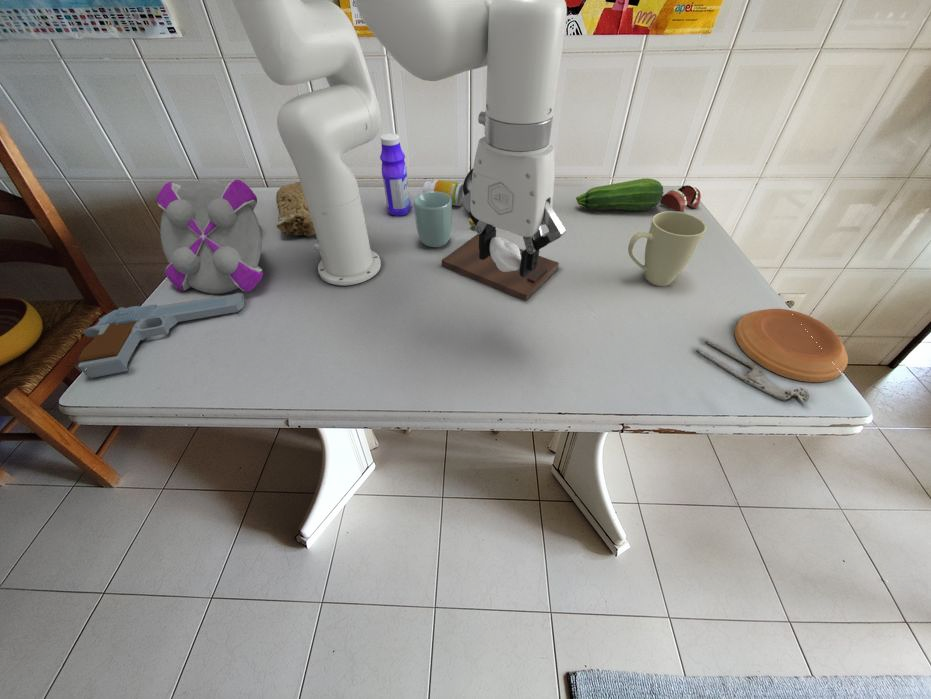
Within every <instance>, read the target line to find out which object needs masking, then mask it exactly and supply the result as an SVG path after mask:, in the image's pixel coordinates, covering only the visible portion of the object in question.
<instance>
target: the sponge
mask: <svg viewBox="0 0 931 699" xmlns="http://www.w3.org/2000/svg"><path fill="white" fill-rule="evenodd" d="M275 200H276V207H277V209H278V212H279V216H278V217H277V222H276V228H277V229H279V231H280V232H284V234H285V235H287V236H288V235H291V236H302V235H304V236H306V237H313V236H314V235H316V233H315V229H314V226H313V222H312V219H311V215H310V212H309V209H308V205H307V202H306V199H305V196H304V192H303V189H302V186H301V183H300V181H295V182H294V183H290V184H285V185H282V186H281V187H279V189H278V190H277V191H276V195H275Z"/></svg>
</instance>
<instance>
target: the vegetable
mask: <svg viewBox="0 0 931 699" xmlns="http://www.w3.org/2000/svg"><path fill="white" fill-rule="evenodd" d="M664 194H665V193H664V186H663V185H662V183H661V182H660V181H659V180H656V179H654V178H639V179H634V180H627V181H620V182H616V183H610V184H606V185H600V186H595V187H592V188H590V189H588V190H587V191H586V192H584V193H582V194H580V195H578V196H575V200H576V203H577V204H578V205H579V206H581V207H582V208H585V209H586V210H588V211H592V212H595V211H603V210H612V211H613V210H616V211H636V212H637V211H647V210H652V209H654V208H657V206H658V205H659V204H661V203H660V201H661V200H662V196H663V195H664Z"/></svg>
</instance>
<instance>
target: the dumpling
mask: <svg viewBox="0 0 931 699" xmlns="http://www.w3.org/2000/svg"><path fill="white" fill-rule="evenodd" d="M519 249H520V248H519V247H518V245H517V244H515V243H513V242H511V241H508V239H506V238H504V237H500V236H499V237H498V236H496V237H493V238H492V239H491V241H490V254H491V257H492V259H493V261H494V262H495V263H496V266H497V268H498V269H499V270H501V271H503V272H509V271H516V270H519V269H520V265H521V255H520V250H519Z"/></svg>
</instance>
